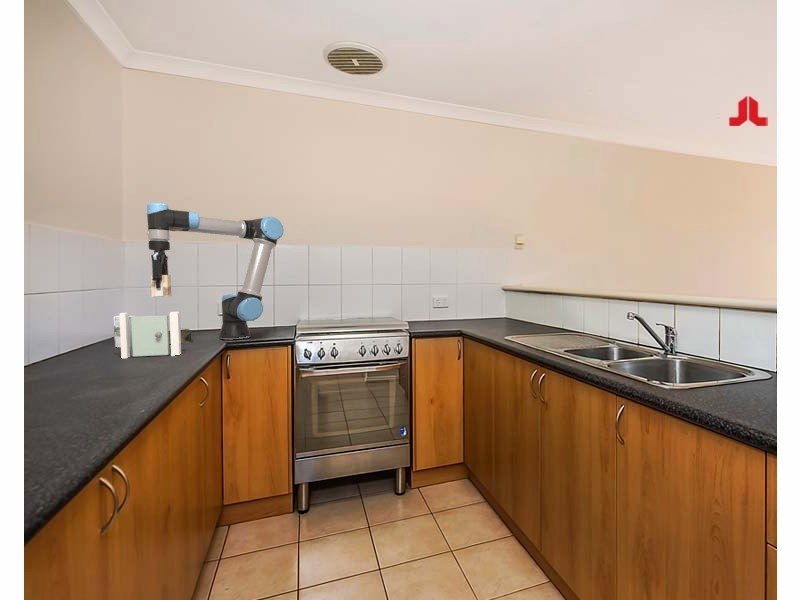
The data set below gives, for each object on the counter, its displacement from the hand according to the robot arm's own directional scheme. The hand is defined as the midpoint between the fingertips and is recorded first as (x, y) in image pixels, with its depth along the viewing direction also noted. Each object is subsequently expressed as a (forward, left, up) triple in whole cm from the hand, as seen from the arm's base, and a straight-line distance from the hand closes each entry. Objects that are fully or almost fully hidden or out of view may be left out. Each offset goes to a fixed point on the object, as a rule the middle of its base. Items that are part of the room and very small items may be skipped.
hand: (161, 295), depth 161 cm
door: (+3, +9, -24) cm, 26 cm away
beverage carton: (+4, -22, -25) cm, 33 cm away
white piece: (+1, +8, -24) cm, 26 cm away
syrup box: (+20, -17, -25) cm, 36 cm away
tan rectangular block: (0, 0, 0) cm, 0 cm away
